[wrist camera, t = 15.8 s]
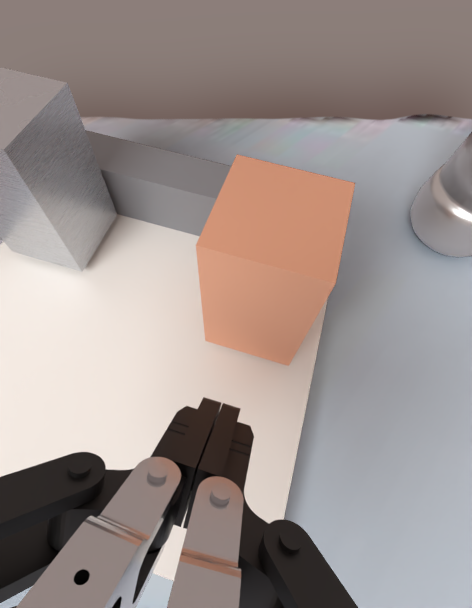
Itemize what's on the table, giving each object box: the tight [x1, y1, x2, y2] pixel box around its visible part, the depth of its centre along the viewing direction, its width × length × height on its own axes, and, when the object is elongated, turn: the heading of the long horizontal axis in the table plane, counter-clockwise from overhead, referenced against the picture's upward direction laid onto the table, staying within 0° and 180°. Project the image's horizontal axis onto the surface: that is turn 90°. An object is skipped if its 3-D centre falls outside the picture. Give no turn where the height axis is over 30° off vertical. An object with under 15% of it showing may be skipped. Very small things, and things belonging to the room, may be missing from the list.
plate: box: [0, 130, 328, 581], centre depth 20 cm, size 22×22×6 cm
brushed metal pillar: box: [0, 67, 117, 272], centre depth 19 cm, size 5×5×9 cm
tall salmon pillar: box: [196, 155, 355, 366], centre depth 17 cm, size 5×5×9 cm
